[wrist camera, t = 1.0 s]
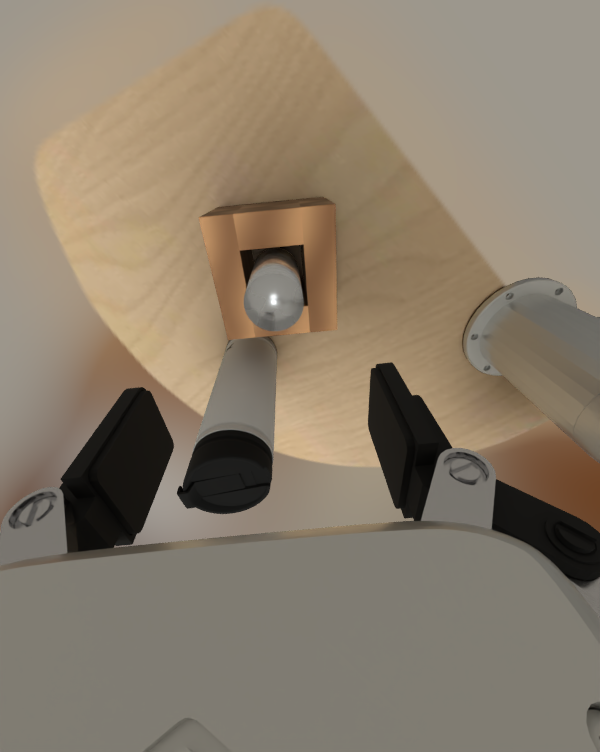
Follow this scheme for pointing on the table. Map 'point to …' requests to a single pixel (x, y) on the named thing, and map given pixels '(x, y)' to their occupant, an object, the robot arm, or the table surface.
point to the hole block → (266, 230)
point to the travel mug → (236, 432)
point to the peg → (274, 291)
